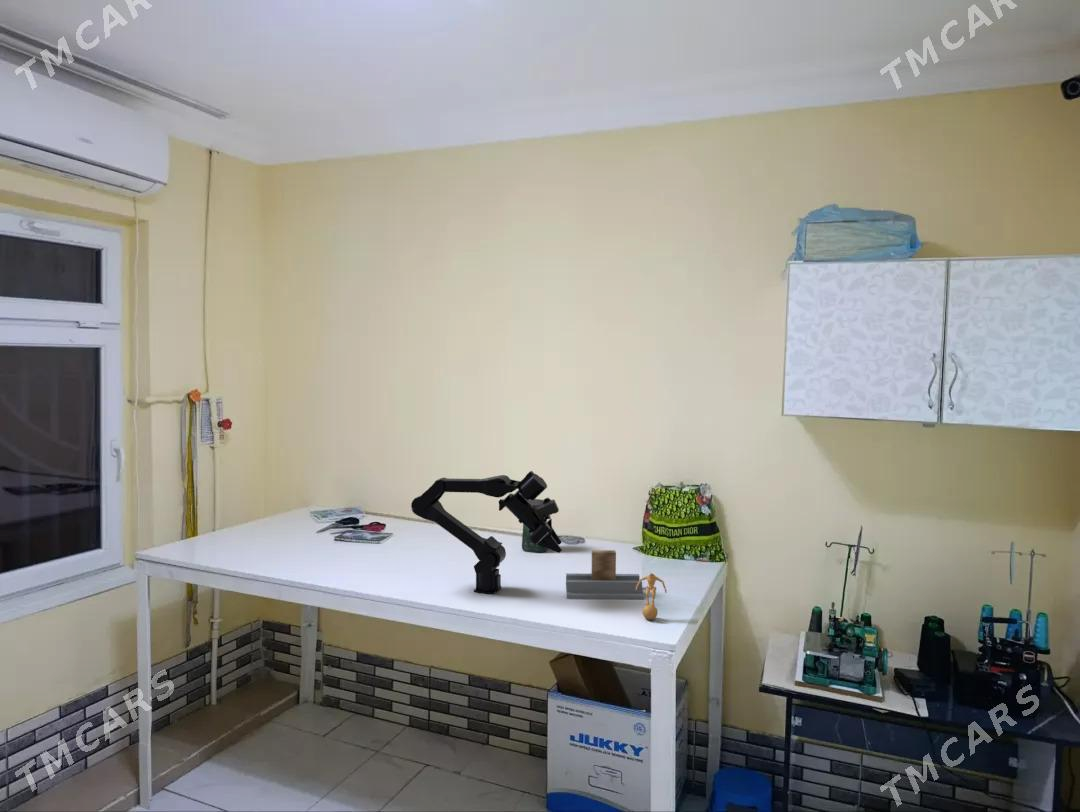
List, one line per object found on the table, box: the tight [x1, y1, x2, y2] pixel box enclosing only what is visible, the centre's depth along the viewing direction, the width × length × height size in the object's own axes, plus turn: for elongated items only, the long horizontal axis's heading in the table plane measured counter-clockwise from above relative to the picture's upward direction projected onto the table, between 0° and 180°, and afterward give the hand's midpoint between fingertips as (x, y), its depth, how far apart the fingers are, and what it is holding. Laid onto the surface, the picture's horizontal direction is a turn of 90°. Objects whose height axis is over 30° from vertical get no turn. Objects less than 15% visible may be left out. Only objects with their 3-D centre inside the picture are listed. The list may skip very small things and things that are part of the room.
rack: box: [565, 572, 644, 600], centre depth 214 cm, size 22×14×4 cm, turn 89°
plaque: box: [591, 549, 617, 580], centre depth 214 cm, size 7×2×11 cm, turn 89°
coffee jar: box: [521, 498, 549, 553], centre depth 260 cm, size 10×8×19 cm
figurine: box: [635, 572, 667, 621], centre depth 191 cm, size 8×6×12 cm
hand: (560, 547), depth 212 cm, fingers open, 9 cm apart
